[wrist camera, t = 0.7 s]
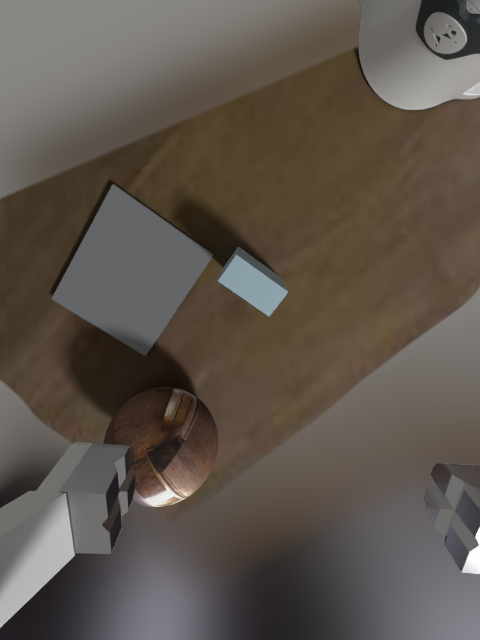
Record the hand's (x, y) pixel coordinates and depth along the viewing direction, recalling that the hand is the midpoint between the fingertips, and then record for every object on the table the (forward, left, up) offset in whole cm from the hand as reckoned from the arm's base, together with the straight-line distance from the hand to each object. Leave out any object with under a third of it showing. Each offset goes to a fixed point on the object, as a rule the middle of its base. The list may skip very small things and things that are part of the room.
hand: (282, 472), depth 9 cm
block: (+1, +1, -36) cm, 36 cm away
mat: (+11, -12, -36) cm, 40 cm away
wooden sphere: (+26, +4, -37) cm, 45 cm away
